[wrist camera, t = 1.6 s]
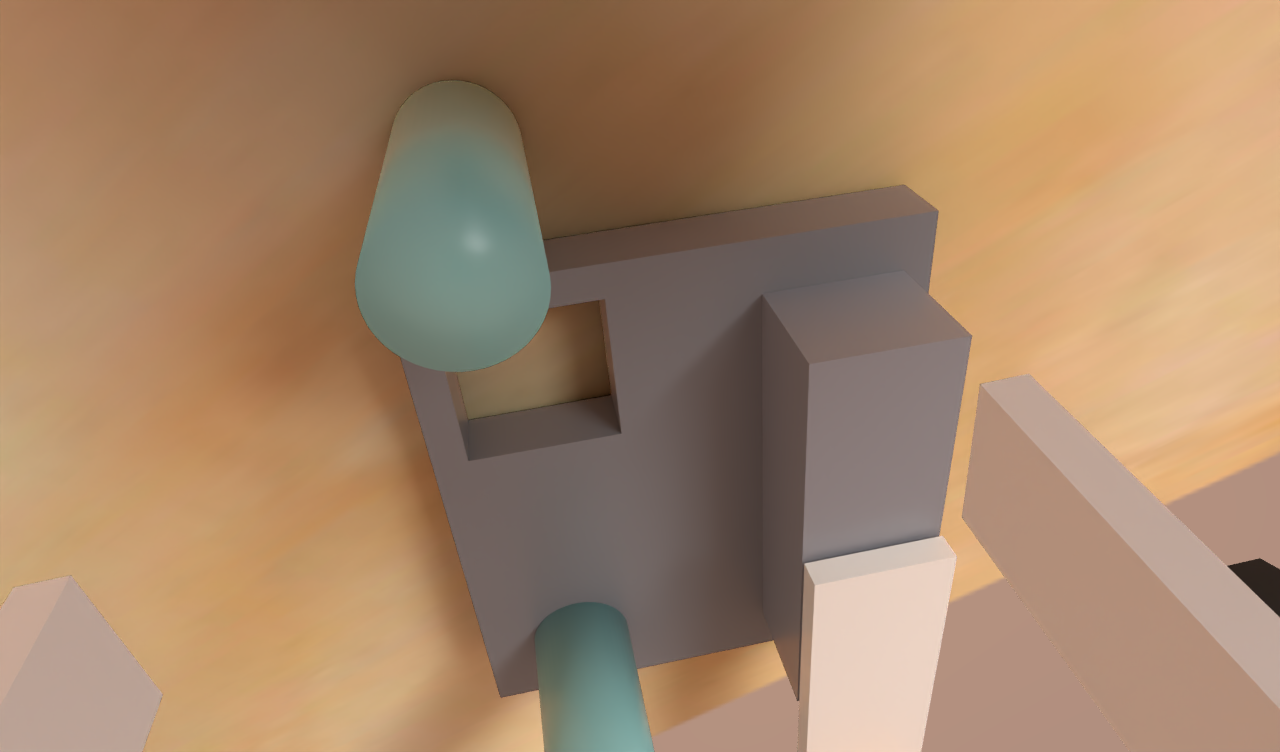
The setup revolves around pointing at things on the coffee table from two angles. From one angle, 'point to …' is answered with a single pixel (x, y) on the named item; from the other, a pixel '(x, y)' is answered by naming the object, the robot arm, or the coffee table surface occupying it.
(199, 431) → the coffee table surface
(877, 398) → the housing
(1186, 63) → the coffee table surface
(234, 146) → the coffee table surface
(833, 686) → the lid
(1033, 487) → the robot arm
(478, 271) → the peg
